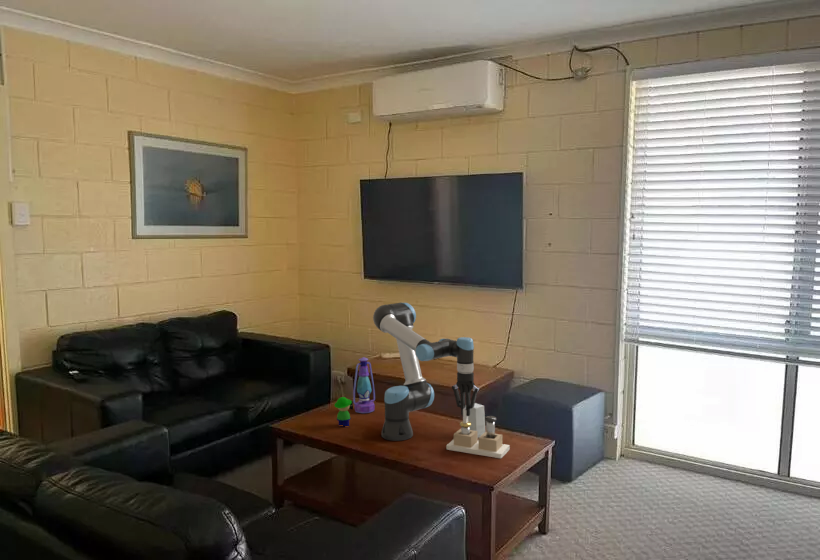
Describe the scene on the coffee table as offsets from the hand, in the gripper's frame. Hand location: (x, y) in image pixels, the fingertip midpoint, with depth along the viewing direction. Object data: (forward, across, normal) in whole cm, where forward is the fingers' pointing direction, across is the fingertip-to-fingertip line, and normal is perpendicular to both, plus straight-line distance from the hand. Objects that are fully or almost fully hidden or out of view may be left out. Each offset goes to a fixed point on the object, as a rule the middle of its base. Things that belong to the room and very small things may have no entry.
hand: (465, 422), depth 285 cm
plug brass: (+10, 0, 0) cm, 10 cm away
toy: (+12, -68, +3) cm, 69 cm away
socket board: (+12, +6, 0) cm, 13 cm away
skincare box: (+12, -2, +18) cm, 22 cm away
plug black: (+6, +12, 0) cm, 13 cm away
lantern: (+12, -71, +29) cm, 78 cm away
